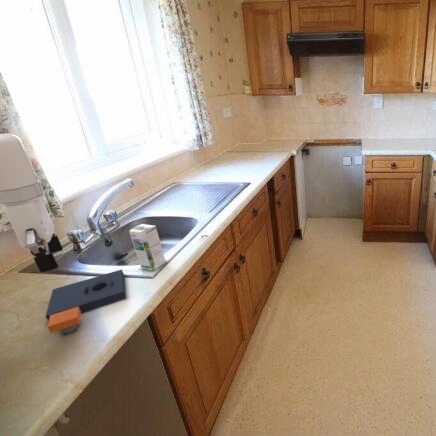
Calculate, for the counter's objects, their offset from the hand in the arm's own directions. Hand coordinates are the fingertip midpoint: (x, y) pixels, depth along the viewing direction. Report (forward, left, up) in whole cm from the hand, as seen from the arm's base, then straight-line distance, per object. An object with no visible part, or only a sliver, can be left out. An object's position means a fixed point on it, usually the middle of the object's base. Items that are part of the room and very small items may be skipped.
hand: (52, 260), depth 77 cm
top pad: (-3, 0, -20) cm, 20 cm away
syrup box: (+19, +21, -20) cm, 35 cm away
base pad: (+1, +13, -20) cm, 24 cm away
